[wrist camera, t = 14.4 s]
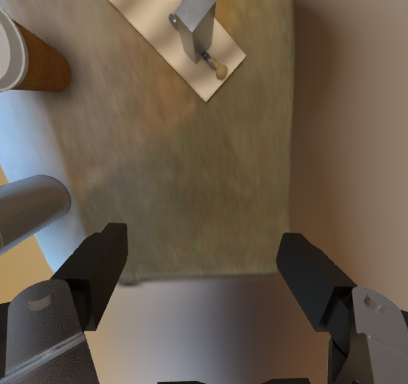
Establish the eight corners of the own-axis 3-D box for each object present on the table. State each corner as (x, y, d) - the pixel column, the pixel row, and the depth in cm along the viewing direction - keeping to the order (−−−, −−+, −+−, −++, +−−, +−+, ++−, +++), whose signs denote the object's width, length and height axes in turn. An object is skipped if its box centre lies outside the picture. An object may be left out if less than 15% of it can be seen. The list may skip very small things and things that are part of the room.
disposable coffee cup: (12, 36, 31) (-100, -16, 19) (73, 35, 31) (-4, -19, 19) (31, 102, 34) (-56, 91, 22) (86, 101, 34) (26, 89, 22)
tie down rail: (98, -10, 29) (82, -30, 25) (135, -71, 27) (124, -103, 23) (205, 102, 34) (206, 100, 30) (244, 58, 32) (249, 49, 28)
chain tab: (162, 27, 29) (138, -28, 18) (177, 5, 28) (162, -65, 18) (207, 77, 31) (210, 52, 20) (223, 58, 30) (234, 23, 20)
